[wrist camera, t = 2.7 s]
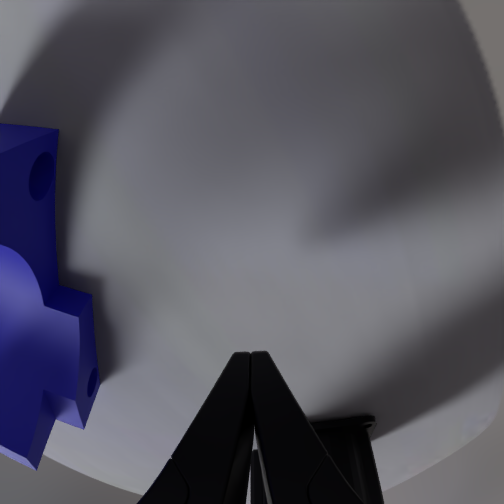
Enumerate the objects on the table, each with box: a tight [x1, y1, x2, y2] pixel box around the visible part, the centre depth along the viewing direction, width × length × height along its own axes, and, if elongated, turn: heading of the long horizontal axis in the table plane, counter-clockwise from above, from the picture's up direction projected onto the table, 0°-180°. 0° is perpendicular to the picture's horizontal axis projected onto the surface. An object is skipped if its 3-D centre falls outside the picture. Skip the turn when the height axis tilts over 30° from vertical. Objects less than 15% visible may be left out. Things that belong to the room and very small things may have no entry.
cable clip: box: [0, 123, 100, 470], centre depth 8 cm, size 12×4×6 cm, turn 165°
